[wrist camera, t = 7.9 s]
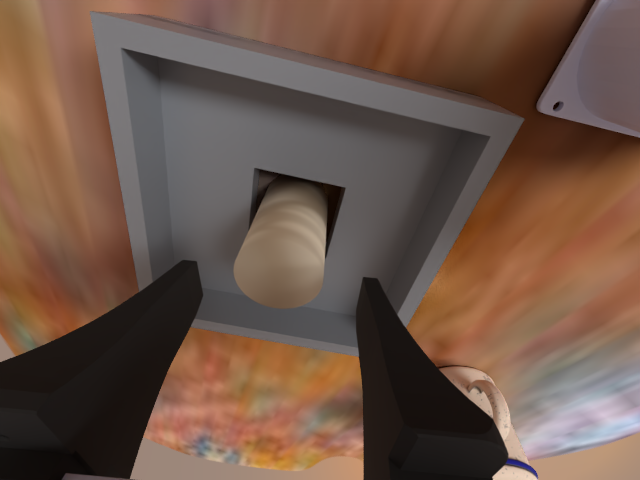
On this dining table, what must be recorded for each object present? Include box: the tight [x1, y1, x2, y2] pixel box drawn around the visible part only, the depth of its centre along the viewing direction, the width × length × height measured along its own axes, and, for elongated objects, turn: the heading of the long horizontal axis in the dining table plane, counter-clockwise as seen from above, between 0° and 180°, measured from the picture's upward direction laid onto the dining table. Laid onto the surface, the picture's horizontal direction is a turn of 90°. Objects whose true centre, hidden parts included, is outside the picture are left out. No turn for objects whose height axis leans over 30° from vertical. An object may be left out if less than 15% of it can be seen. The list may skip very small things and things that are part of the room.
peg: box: [233, 174, 328, 309], centre depth 18 cm, size 4×4×8 cm
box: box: [90, 11, 525, 357], centre depth 20 cm, size 18×18×5 cm
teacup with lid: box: [439, 366, 538, 480], centre depth 28 cm, size 12×9×12 cm
